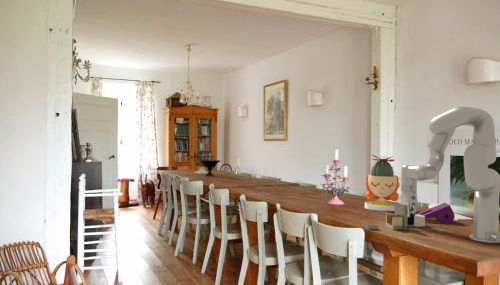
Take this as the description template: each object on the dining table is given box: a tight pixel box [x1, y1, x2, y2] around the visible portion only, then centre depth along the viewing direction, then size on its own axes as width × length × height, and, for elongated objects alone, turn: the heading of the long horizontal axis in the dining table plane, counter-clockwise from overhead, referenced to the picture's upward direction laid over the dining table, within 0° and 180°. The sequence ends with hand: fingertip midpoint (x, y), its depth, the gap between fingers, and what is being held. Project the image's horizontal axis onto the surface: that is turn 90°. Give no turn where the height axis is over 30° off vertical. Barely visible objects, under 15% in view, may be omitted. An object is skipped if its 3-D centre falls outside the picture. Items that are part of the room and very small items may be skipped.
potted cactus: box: [363, 154, 401, 212], centre depth 257 cm, size 22×22×35 cm
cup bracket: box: [384, 201, 408, 231], centre depth 194 cm, size 11×7×12 cm, turn 4°
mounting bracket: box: [415, 202, 455, 224], centre depth 215 cm, size 10×9×19 cm
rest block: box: [361, 221, 379, 231], centre depth 194 cm, size 8×5×2 cm, turn 4°
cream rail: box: [407, 214, 426, 227], centre depth 202 cm, size 14×5×5 cm, turn 94°
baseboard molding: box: [423, 207, 473, 222], centre depth 234 cm, size 31×3×12 cm
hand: (408, 223), depth 202 cm, fingers closed on cream rail, 5 cm apart
